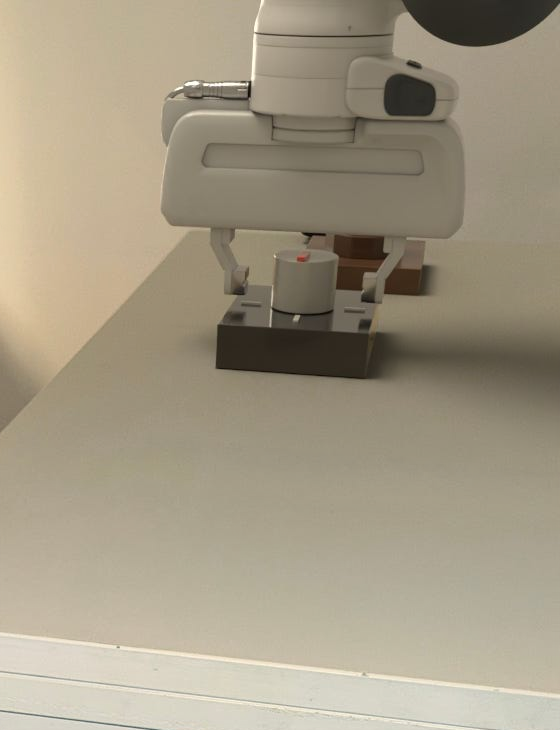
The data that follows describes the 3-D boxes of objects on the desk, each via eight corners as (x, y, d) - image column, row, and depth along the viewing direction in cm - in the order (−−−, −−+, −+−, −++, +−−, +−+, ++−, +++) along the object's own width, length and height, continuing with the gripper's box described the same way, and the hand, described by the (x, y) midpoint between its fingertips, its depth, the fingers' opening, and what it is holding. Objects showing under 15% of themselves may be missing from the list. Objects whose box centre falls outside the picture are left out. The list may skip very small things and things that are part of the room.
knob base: (242, 324, 99) (244, 282, 97) (376, 332, 97) (380, 289, 95) (215, 368, 89) (217, 321, 87) (364, 378, 86) (369, 331, 85)
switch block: (310, 260, 119) (313, 214, 117) (422, 265, 117) (428, 219, 115) (294, 289, 109) (298, 240, 107) (417, 296, 107) (423, 246, 105)
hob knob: (277, 297, 94) (281, 242, 92) (339, 301, 92) (344, 246, 91) (264, 311, 90) (268, 255, 88) (328, 316, 89) (333, 259, 87)
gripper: (152, 83, 84) (147, 299, 91) (480, 90, 79) (451, 317, 86) (171, 75, 90) (165, 279, 96) (480, 81, 85) (452, 295, 91)
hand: (303, 297), depth 91 cm, fingers open, 8 cm apart
